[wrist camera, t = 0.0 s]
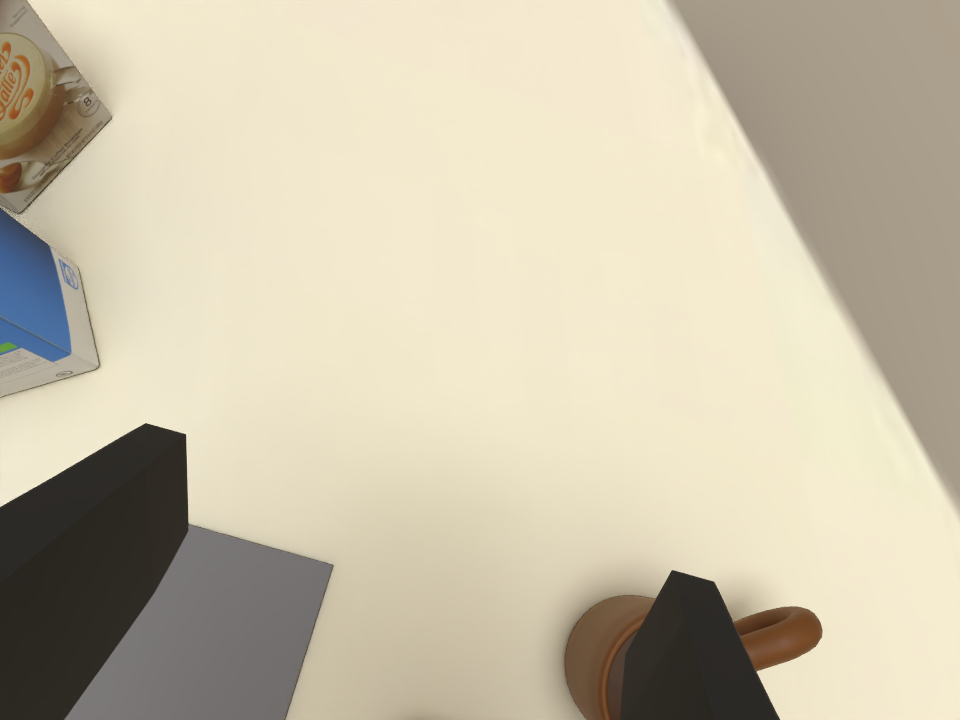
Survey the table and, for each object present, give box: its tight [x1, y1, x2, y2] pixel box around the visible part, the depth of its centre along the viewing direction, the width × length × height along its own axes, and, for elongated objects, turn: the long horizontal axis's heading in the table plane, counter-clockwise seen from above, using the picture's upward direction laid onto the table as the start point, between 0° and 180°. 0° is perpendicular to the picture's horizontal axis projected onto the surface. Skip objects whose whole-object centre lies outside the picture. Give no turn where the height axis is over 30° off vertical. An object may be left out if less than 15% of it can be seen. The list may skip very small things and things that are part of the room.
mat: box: [64, 524, 333, 720], centre depth 39 cm, size 13×13×1 cm
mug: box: [565, 595, 823, 720], centre depth 36 cm, size 12×8×9 cm, turn 111°
